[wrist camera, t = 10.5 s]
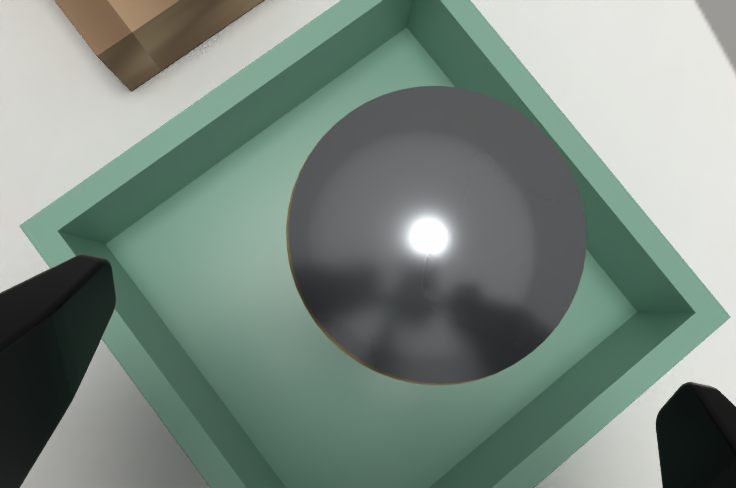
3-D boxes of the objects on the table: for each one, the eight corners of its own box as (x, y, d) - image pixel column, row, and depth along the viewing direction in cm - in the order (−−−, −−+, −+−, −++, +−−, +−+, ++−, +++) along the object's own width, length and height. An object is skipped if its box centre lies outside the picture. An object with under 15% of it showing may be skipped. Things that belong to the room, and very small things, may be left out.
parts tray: (337, 587, 19) (336, 659, 15) (81, 241, 20) (19, 226, 16) (657, 315, 21) (731, 317, 17) (408, 8, 22) (422, -58, 18)
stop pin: (343, 353, 20) (352, 438, 7) (303, 248, 20) (239, 142, 7) (447, 311, 20) (639, 316, 7) (405, 209, 21) (518, 41, 8)
